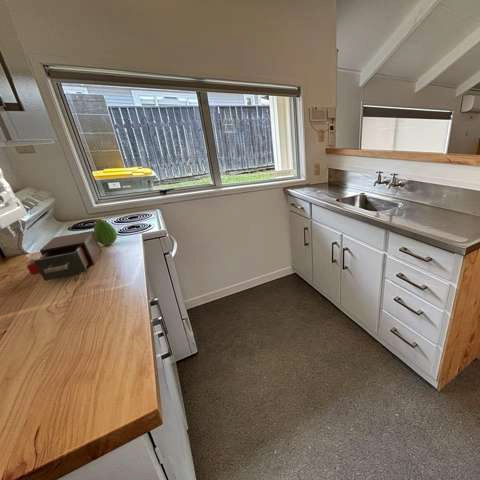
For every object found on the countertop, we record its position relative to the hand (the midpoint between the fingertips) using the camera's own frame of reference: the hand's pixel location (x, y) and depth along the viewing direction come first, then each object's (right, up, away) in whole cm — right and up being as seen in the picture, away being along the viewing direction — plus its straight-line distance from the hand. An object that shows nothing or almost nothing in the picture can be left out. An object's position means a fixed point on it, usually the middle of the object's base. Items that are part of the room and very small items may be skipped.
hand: (16, 235), depth 90 cm
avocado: (+10, -4, +29) cm, 30 cm away
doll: (+1, -14, +6) cm, 15 cm away
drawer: (+15, -13, +4) cm, 21 cm away
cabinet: (+10, -10, +13) cm, 19 cm away
